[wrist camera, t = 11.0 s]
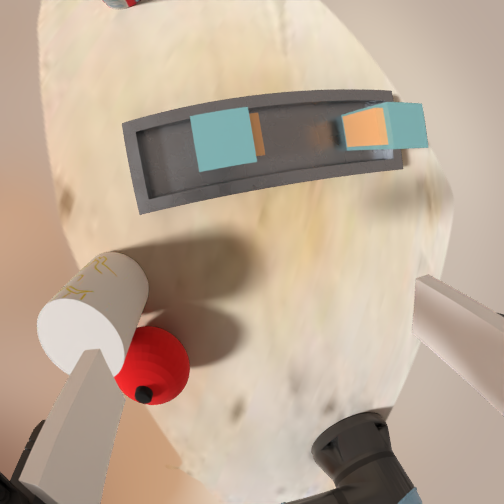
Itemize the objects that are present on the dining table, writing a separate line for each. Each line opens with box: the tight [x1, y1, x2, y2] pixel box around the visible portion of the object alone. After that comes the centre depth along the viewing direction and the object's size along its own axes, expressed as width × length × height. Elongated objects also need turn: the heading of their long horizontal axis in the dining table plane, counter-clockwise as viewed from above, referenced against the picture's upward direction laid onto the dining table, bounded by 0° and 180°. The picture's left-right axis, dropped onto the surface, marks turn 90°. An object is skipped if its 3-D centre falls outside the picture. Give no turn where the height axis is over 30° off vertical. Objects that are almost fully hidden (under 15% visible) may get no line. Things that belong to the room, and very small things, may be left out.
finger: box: [190, 107, 265, 172], centre depth 23 cm, size 4×5×9 cm
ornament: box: [114, 326, 190, 405], centre depth 29 cm, size 9×9×10 cm
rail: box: [122, 90, 403, 215], centre depth 28 cm, size 9×28×3 cm, turn 100°
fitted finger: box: [341, 102, 428, 151], centre depth 25 cm, size 4×5×9 cm
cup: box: [37, 252, 149, 377], centre depth 25 cm, size 8×8×12 cm
